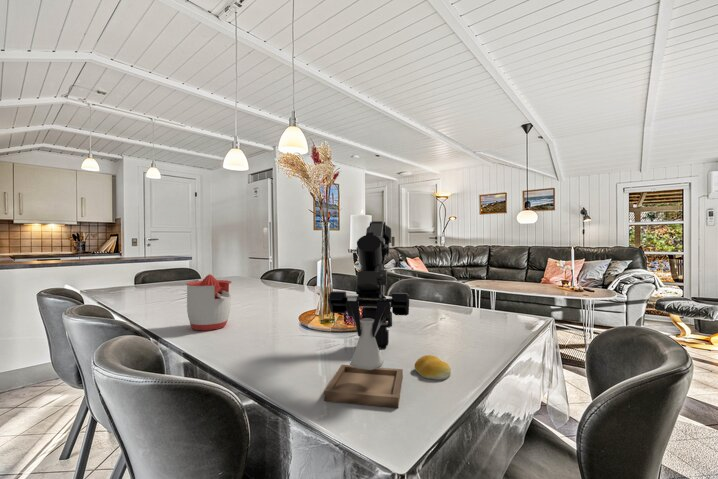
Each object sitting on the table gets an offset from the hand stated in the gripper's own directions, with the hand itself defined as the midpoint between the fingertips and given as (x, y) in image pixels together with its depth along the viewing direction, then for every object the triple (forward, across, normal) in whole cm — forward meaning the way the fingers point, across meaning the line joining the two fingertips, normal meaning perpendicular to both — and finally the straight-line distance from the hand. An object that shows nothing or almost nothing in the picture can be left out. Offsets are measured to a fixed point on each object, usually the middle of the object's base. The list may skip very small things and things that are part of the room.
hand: (366, 335), depth 73 cm
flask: (+4, 0, +6) cm, 7 cm away
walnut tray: (+8, 0, +9) cm, 12 cm away
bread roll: (0, +15, +17) cm, 23 cm away
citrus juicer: (-23, -63, +41) cm, 79 cm away
